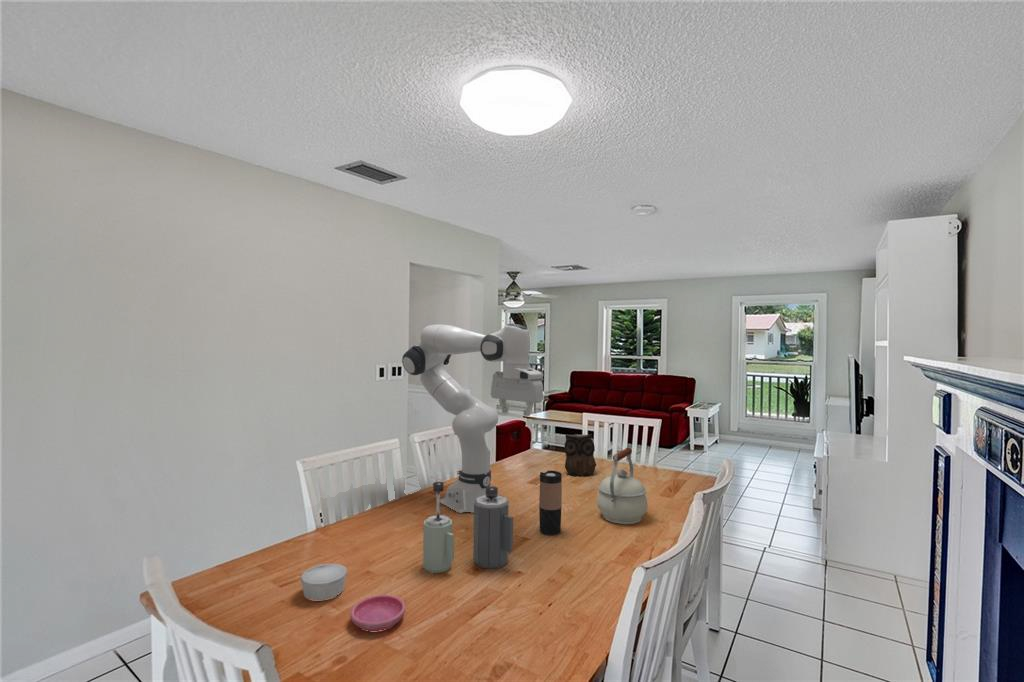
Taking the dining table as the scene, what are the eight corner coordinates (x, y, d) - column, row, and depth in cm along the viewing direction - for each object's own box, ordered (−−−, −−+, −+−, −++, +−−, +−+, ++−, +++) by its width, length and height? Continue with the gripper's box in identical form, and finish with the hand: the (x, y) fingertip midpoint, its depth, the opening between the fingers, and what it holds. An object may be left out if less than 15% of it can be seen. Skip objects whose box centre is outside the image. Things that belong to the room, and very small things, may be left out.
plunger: (482, 532, 147) (483, 488, 147) (490, 528, 149) (491, 485, 149) (491, 535, 144) (492, 490, 144) (499, 532, 147) (500, 488, 147)
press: (466, 561, 146) (466, 500, 146) (490, 550, 154) (491, 491, 154) (499, 576, 138) (499, 510, 138) (522, 563, 146) (523, 501, 146)
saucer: (409, 606, 122) (409, 593, 122) (399, 637, 110) (399, 623, 110) (358, 606, 122) (358, 594, 122) (343, 637, 109) (343, 623, 109)
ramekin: (332, 578, 136) (332, 559, 136) (355, 591, 129) (355, 571, 129) (292, 594, 127) (292, 574, 127) (315, 610, 120) (315, 588, 120)
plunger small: (430, 517, 143) (431, 483, 142) (438, 514, 145) (438, 481, 145) (437, 520, 141) (437, 485, 141) (445, 517, 143) (445, 483, 143)
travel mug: (560, 536, 165) (560, 477, 165) (537, 534, 167) (538, 475, 167) (562, 528, 173) (563, 471, 173) (540, 526, 174) (541, 469, 174)
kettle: (636, 532, 170) (637, 460, 169) (587, 521, 179) (587, 453, 179) (657, 511, 191) (657, 446, 190) (611, 502, 200) (612, 441, 200)
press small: (417, 567, 142) (418, 519, 142) (438, 557, 149) (439, 512, 148) (441, 578, 136) (442, 529, 136) (462, 568, 142) (463, 520, 142)
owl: (597, 475, 239) (597, 434, 238) (578, 479, 231) (578, 437, 231) (579, 469, 249) (579, 430, 249) (560, 473, 242) (560, 432, 241)
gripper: (486, 371, 168) (486, 411, 168) (534, 374, 155) (533, 418, 155) (499, 370, 173) (498, 409, 173) (546, 373, 160) (545, 416, 160)
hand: (515, 414), depth 164 cm, fingers open, 8 cm apart
